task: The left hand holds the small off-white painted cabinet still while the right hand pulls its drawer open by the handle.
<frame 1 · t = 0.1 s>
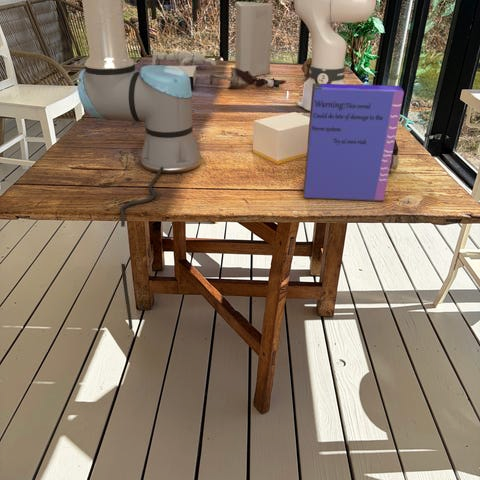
left hand: (174, 20, 152), 28 cm above the table, tool pointing down, fingers open, 13 cm apart
toy: (185, 67, 226), on the table
cabinet: (285, 152, 131), on the table
drawer: (304, 132, 132), point 4 cm above the table, slide at 2.0 cm
figurine character: (379, 167, 122), on the table
white block: (253, 72, 218), on the table
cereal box: (342, 195, 108), on the table
disc drive: (174, 83, 197), on the table
figurine: (247, 88, 192), on the table
anatomical model: (311, 79, 208), on the table
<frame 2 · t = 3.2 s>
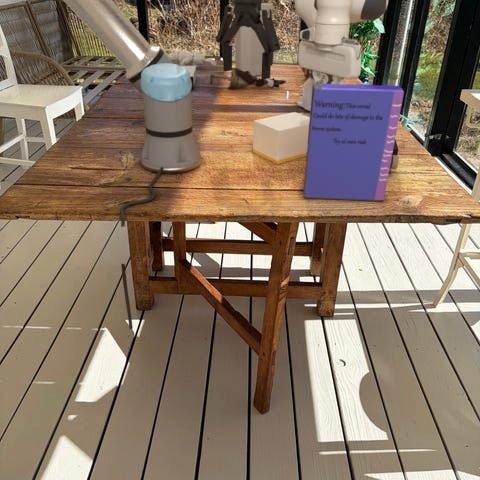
left hand: (246, 74, 129), 19 cm above the table, tool pointing down, fingers open, 13 cm apart
right hand: (325, 89, 130), 15 cm above the table, tool pointing down, fingers open, 4 cm apart
nothing on the table moved.
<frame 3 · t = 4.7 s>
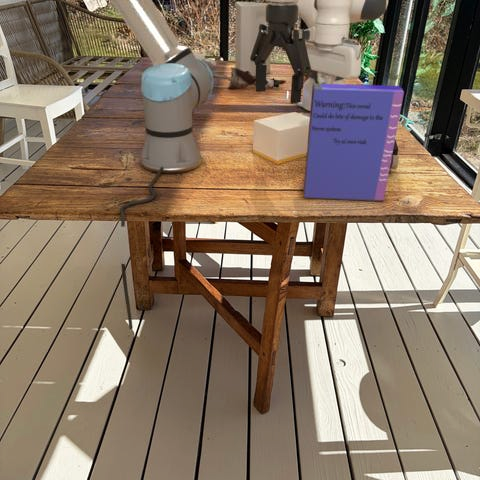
left hand: (277, 96, 121), 16 cm above the table, tool pointing down, fingers open, 13 cm apart
right hand: (325, 89, 130), 15 cm above the table, tool pointing down, fingers closed
nothing on the table moved.
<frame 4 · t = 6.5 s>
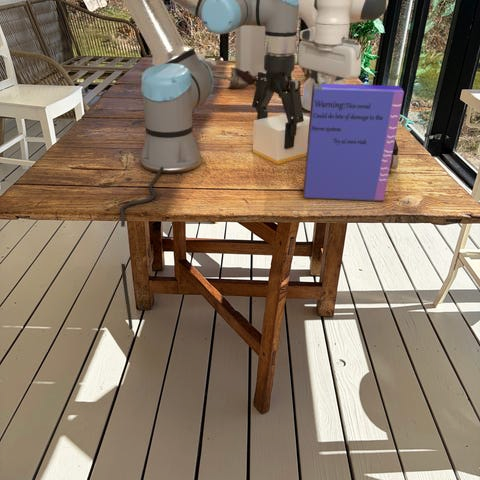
left hand: (275, 141, 127), 4 cm above the table, tool pointing down, fingers closed on cabinet, 10 cm apart
right hand: (325, 89, 130), 15 cm above the table, tool pointing down, fingers closed
cabinet: (285, 152, 131), on the table, touching left hand
everything else where it was.
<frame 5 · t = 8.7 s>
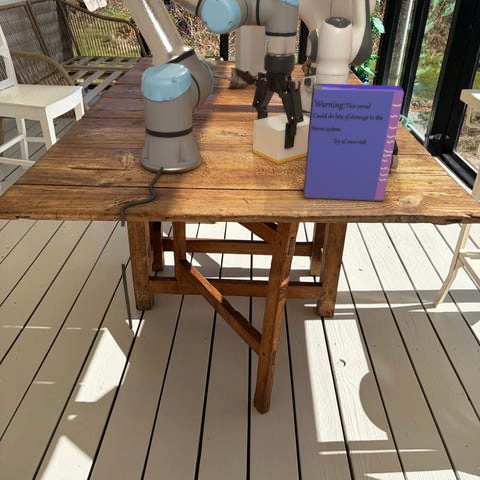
left hand: (275, 141, 127), 4 cm above the table, tool pointing down, fingers closed on cabinet, 10 cm apart
right hand: (325, 132, 137), 3 cm above the table, tool pointing down, fingers closed, pressing on drawer
cabinet: (285, 152, 131), on the table, touching left hand
drawer: (308, 131, 133), point 4 cm above the table, slide at 3.7 cm, touching right hand
everything else where it was.
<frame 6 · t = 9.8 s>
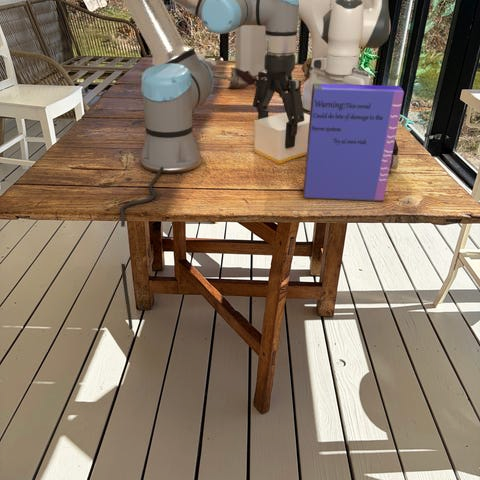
left hand: (275, 140, 127), 4 cm above the table, tool pointing down, fingers closed on cabinet, 10 cm apart
right hand: (335, 114, 137), 7 cm above the table, tool pointing down, fingers closed
cabinet: (286, 151, 131), on the table, touching left hand
drawer: (320, 126, 135), point 5 cm above the table, slide at 7.6 cm
everything else where it was.
when the left hand's fingers open (4 cm above the table, at t = 10.9 s): cabinet stays where it is, on the table.
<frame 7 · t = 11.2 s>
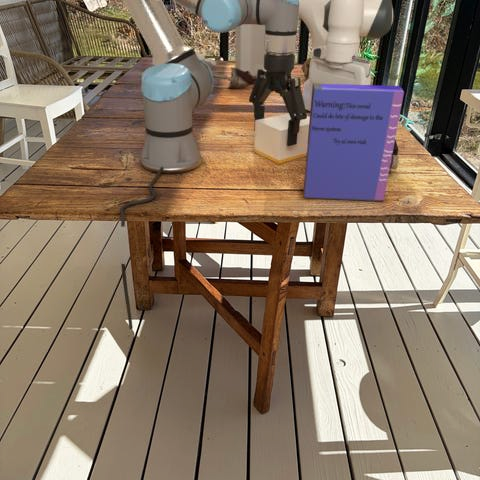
left hand: (274, 137, 126), 5 cm above the table, tool pointing down, fingers open, 13 cm apart
right hand: (335, 105, 135), 10 cm above the table, tool pointing down, fingers closed
cabinet: (286, 152, 131), on the table
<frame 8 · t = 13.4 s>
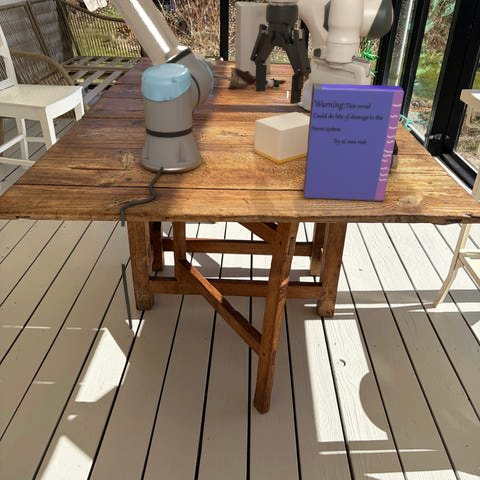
left hand: (277, 96, 121), 16 cm above the table, tool pointing down, fingers open, 13 cm apart
right hand: (335, 105, 135), 10 cm above the table, tool pointing down, fingers closed
nothing on the table moved.
at the end: drawer slide at 7.6 cm; cabinet tilted 0°; cabinet never tilted more than 3° during the clip; cabinet moved 0.5 cm from its start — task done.
